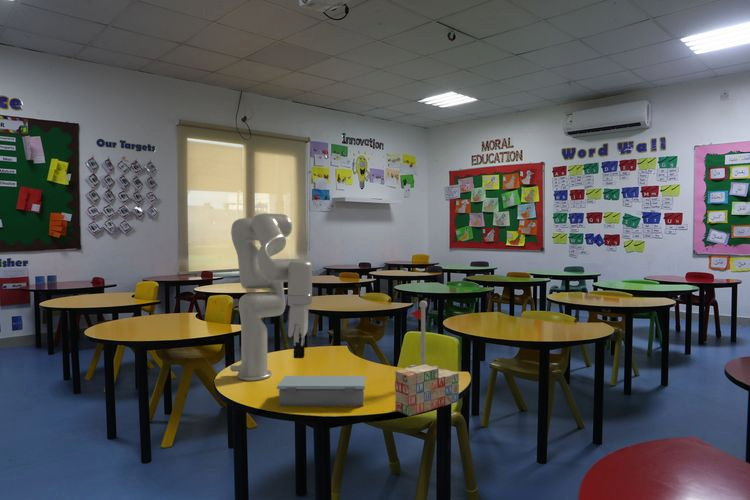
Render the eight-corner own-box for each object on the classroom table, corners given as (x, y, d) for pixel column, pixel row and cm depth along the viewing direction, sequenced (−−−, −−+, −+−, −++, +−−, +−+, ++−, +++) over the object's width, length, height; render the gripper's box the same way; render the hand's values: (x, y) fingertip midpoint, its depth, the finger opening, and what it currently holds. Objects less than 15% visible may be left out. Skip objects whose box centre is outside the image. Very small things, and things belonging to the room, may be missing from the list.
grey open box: (279, 406, 147) (279, 390, 147) (286, 393, 159) (286, 379, 159) (363, 406, 147) (363, 390, 147) (364, 394, 159) (364, 379, 159)
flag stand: (447, 382, 173) (447, 299, 173) (431, 391, 162) (431, 303, 162) (415, 376, 180) (416, 297, 180) (398, 385, 170) (398, 301, 169)
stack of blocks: (445, 397, 157) (445, 359, 157) (459, 402, 152) (459, 363, 152) (394, 410, 144) (394, 370, 144) (408, 416, 139) (408, 374, 139)
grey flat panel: (276, 393, 146) (276, 386, 146) (284, 382, 159) (284, 375, 159) (364, 393, 146) (364, 386, 146) (365, 382, 159) (365, 375, 159)
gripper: (292, 296, 158) (291, 351, 158) (283, 303, 143) (282, 364, 143) (314, 297, 158) (313, 351, 158) (308, 303, 143) (307, 364, 143)
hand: (299, 357), depth 151 cm, fingers closed
